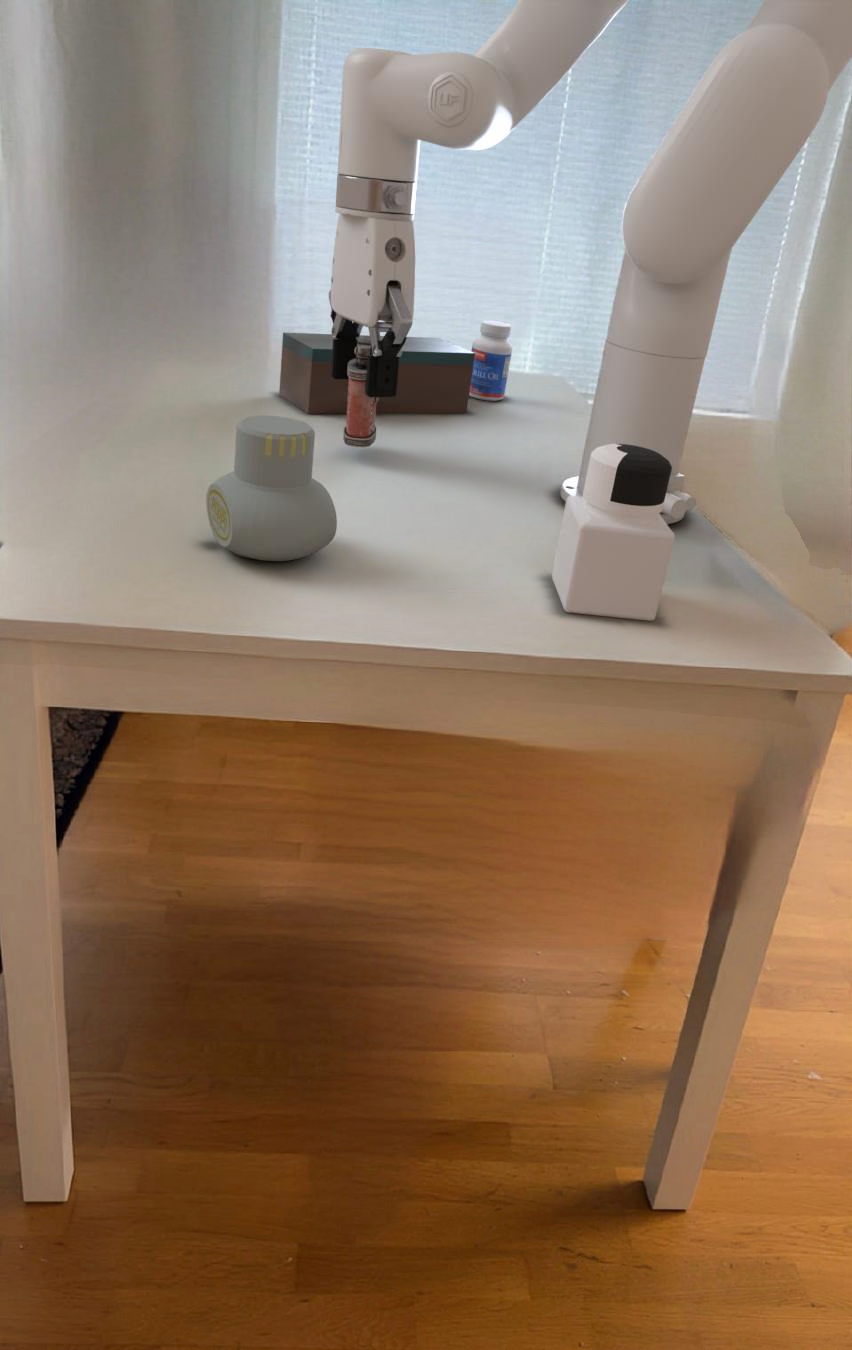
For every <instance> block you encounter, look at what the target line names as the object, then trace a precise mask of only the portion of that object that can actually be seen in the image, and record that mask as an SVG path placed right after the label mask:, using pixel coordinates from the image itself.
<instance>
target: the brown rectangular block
mask: <svg viewBox="0 0 852 1350" xmlns="http://www.w3.org/2000/svg"><path fill="white" fill-rule="evenodd" d="M363 336H369V334H368V335H365V334H363V335H362V334H360V336H359V338H358V339H362V338H363ZM384 336H385V335H380V337H381V340H382V339H383V337H384ZM406 337H407V339H406V342H405V344H404V345H403V347H402V350H403V351H402V355H401V357H399V368H398V380H397V392H396V395H395V396H394V397H379V399H378V401H377V402H376V414H467V413H468V405H469V399H470V396H469V393H470V386H471V379H472V372H473V365H474V358H475V353H473V352H471V351H472V350H468V349H466V348H464V347H461V346H459V345H457V344H455V343H452V342H450V341H448V340H445V339H443V338H441V337H423V336H406ZM333 339H337V338H333V337H332V333H331V334H330V333H307V332H282V341H281V342H282V343H281V344H282V345H281V359H280V373H279V374H280V376H279V390H278V395H279V396H281V397H282V398H283V399H285V400H286V401H288V402H290V403H292V405H294V406H295V407H297V408H298V409H300V410H302V411H303V412H304V413H306V414H308V415H317V414H318V415H330V414H331V415H333V414H334V415H340V414H341V415H342V414H343V415H344V414H345V415H347V401H348V384H349V379H334V378H332V377H331V366H332V348H333Z"/></svg>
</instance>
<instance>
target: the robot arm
mask: <svg viewBox="0 0 852 1350" xmlns="http://www.w3.org/2000/svg"><path fill="white" fill-rule="evenodd" d="M628 2H630V0H518V1H517V2H516V4H515V6H514V7H513V8H512V10H510V12H509V14H508V15H507V16H506V17H505V19H504V20H503V21H502V22H501V23H500V25H499V26H498V27H497V29H495V31H494V32H492V34H491V35H490V36H489V37H488V39H486V41H484V43H483V44H481V46H480V47H479V48H478V49H477V50H476V51H475V53H474V54H473V55H472V54H470V53H465V52H455V51H454V52H438V53H427V54H411V53H409V52H406V51H405V52H404V51H399V50H393V49H385V48H384V49H383V48H372V47H371V48H370V47H364V48H356V49H353V50H351V51H350V52H349V53H348V54H347V55H346V57H345V60H344V64H343V69H342V80H341V81H342V82H341V83H342V84H341V100H340V101H341V102H340V117H339V118H340V119H339V121H340V122H339V140H338V155H337V156H338V158H337V159H338V160H337V174H336V190H335V191H336V192H335V193H336V194H335V196H336V197H335V213H337V214H338V219H337V223H336V224H337V225H336V231H335V237H334V246H333V255H332V263H331V264H332V266H331V280H330V290H329V292H328V301H329V306H330V309H331V311H330V318H331V321H332V327H331V334H332V337H333V338H337V339H333V348H332V366H331V377H332V378H334V379H349V376H348V374H347V368H348V362H349V361H350V360H352V359H354V358H356V355H355V348H356V347H357V340H358V338H359V336H360V335H361V334H362V330H363V328H364V327H366V328H368V333H369V334H368V335H369V336H370V341H371V347H372V353H373V355H368V365H367V379H366V395H367V396H369V397H394V396H395V395H396V392H397V380H398V368H399V357H401V355H402V351H403V350H402V347H403V345H404V344H405V342H406V339H407V337H408V334H409V333H410V330H411V328H412V326H413V321H414V315H415V314H414V313H415V301H416V300H415V297H416V272H417V269H416V268H417V253H416V252H417V249H416V230H415V222H414V218H415V205H416V196H417V195H416V193H417V182H418V173H419V172H418V171H419V159H420V150H421V149H420V147H421V146H420V145H421V142H425V143H429V144H432V145H436V146H440V147H442V148H443V147H444V148H448V149H452V150H463V151H465V150H468V151H482V150H487V149H489V148H492V147H493V146H495V145H497V144H498V143H500V142H501V141H502V140H504V139H505V138H506V137H508V135H509V134H510V133H512V132H513V131H514V130H515V129H516V128H517V127H518V126H519V125H520V124H521V123H522V122H523V121H524V120H525V118H526V117H528V116H529V114H531V112H532V111H534V109H535V108H536V107H538V105H539V104H540V103H541V102H542V101H543V100H544V99H545V98H546V97H547V96H548V95H549V94H550V93H551V92H552V90H553V89H555V87H556V86H557V85H558V84H559V83H560V81H561V80H563V78H564V77H565V76H566V75H567V73H568V72H570V70H571V69H572V68H573V66H574V65H575V64H576V63H577V62H578V61H579V59H580V58H581V57H582V56H583V55H584V53H585V52H586V51H587V50H588V49H589V48H590V46H591V45H593V43H595V42H596V40H597V39H598V38H599V37H600V36H601V35H602V34H603V33H604V32H605V29H607V27H608V26H609V25H610V23H611V22H612V20H614V18H615V17H616V16H617V15H618V14H619V13H620V12H621V10H622V9H623V8H624V7H625V6H626V5H627V3H628ZM851 59H852V0H765V1H764V2H763V4H762V5H761V7H760V9H758V11H757V13H756V15H755V16H754V17H753V19H752V21H751V23H749V25H748V26H747V28H746V30H744V31H742V32H741V33H739V34H737V35H736V36H734V37H733V38H732V39H730V40H729V41H728V42H727V43H726V44H725V45H724V46H723V47H722V48H721V50H720V51H719V52H718V53H717V54H716V56H715V57H714V59H713V60H712V62H711V63H710V64H709V66H708V67H707V69H706V71H704V73H703V75H702V76H701V78H700V80H699V81H698V83H697V84H696V86H695V88H694V89H693V91H692V93H691V94H690V96H689V97H688V100H687V101H686V103H685V104H684V105H683V107H682V109H681V110H680V111H679V114H678V115H677V116H676V119H675V120H674V121H673V122H672V125H671V126H670V128H669V129H668V130H667V133H666V135H665V136H664V138H663V139H662V141H661V143H660V144H659V146H658V147H657V149H656V151H655V152H654V154H653V155H652V157H651V159H650V160H649V161H648V163H647V165H646V167H645V168H644V170H643V171H642V173H641V175H640V176H639V178H638V179H637V181H636V183H635V184H634V185H633V188H632V189H631V191H630V192H629V194H628V197H627V199H626V202H625V205H624V208H623V212H622V219H621V235H622V242H623V246H624V250H623V255H622V260H621V264H620V269H619V272H618V273H619V274H618V278H617V279H618V280H617V282H616V286H615V287H616V288H615V292H614V297H613V302H612V307H611V312H610V317H609V321H608V325H607V326H608V327H607V333H606V338H605V340H604V345H603V351H602V356H601V360H600V366H599V370H598V376H597V380H596V381H597V382H596V387H595V392H594V396H593V401H592V407H591V413H590V416H589V422H588V428H587V431H586V432H587V433H586V438H585V443H584V448H583V453H582V457H581V458H582V459H581V464H580V469H579V473H578V475H577V476H573V477H569V478H567V479H566V480H564V481H563V482H562V483H561V486H560V491H559V495H560V497H561V499H562V500H563V501H564V503H566V500H567V498H568V497H569V496H580V497H583V491H584V486H585V481H586V476H587V471H588V466H589V461H590V456H591V453H592V452H593V451H594V450H595V449H596V448H598V447H601V446H604V445H608V444H627V445H634V446H639V447H643V448H647V449H650V450H653V451H655V452H657V453H659V454H661V455H662V456H663V457H665V458H666V459H667V460H668V461H669V462H670V464H671V466H672V470H671V475H670V479H669V483H668V487H667V492H666V496H665V500H664V504H663V509H662V511H661V512H660V513H659V514H660V515H661V517H662V518H663V519H664V521H665V522H666V524H667V525H670V524H675V523H678V522H679V521H681V520H682V519H684V517H685V514H686V511H688V512H690V511H692V510H693V509H694V508H695V506H696V505H697V498H696V497H694V496H692V495H691V494H689V493H686V492H682V490H683V485H684V480H685V477H686V476H685V475H683V474H681V473H680V472H679V470H680V466H681V461H682V457H683V452H684V449H685V445H686V440H687V436H688V433H689V429H690V424H691V420H692V415H693V411H694V407H695V403H696V399H697V394H698V391H699V390H698V389H699V386H700V381H701V378H702V373H703V369H704V364H705V360H706V357H707V354H708V350H709V346H710V342H711V340H712V339H711V338H712V335H713V329H714V325H715V321H716V316H717V312H718V308H719V304H720V300H721V296H722V292H723V287H724V284H725V283H724V282H725V278H726V275H727V270H728V266H729V262H730V258H731V254H732V252H733V251H732V250H733V247H734V246H735V244H736V243H737V242H738V240H739V239H740V237H741V236H742V234H743V233H744V232H745V230H746V229H747V228H748V226H749V225H750V223H752V221H753V219H754V217H755V216H756V214H757V213H759V211H760V209H761V207H763V205H764V203H765V202H766V200H767V199H768V197H769V196H770V195H771V193H772V192H773V190H774V188H775V187H776V186H777V184H778V183H779V181H780V180H781V179H782V177H783V175H784V174H785V173H786V171H787V170H788V169H789V167H790V165H792V163H793V161H794V160H795V159H796V157H797V155H798V154H799V153H800V151H801V149H802V148H803V147H804V145H805V144H806V142H807V141H808V139H809V137H810V136H811V135H812V133H813V131H814V130H815V128H816V126H817V125H818V123H819V121H820V120H821V117H822V114H823V112H824V110H825V107H826V104H827V100H828V95H829V92H830V90H831V89H832V87H833V86H834V84H835V83H836V81H837V80H838V78H839V76H840V75H841V74H842V72H843V71H844V69H845V67H846V66H847V64H848V63H849V61H850V60H851ZM381 333H385V334H384V335H383V336H384V337H383V339H382V340H381V337H380V336H381Z"/></svg>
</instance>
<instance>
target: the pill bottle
mask: <svg viewBox="0 0 852 1350" xmlns="http://www.w3.org/2000/svg"><path fill="white" fill-rule="evenodd" d="M511 329H512V325H511V324H509V323H507V322H506V323H505V322H502V321H497V320H488V319H487V320H486V319H485V320H482V321H481V323H480V329H479V333H481V334H480V336H477V337H475V338H474V340H473V341H472V345H471V350H470V351H471V352H473V353H475V358H474V365H473V372H472V379H471V386H470V393H469V397H471V398H473V399H478V400H482V401H489V402H494V401H495V402H496V401H501V400H503V399H504V397H505V393H506V388H507V382H508V377H509V371H510V366H511V359H512V353H513V345H512V343H511V342H510V341H508V338H509V337H510V335H511Z"/></svg>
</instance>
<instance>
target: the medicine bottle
mask: <svg viewBox="0 0 852 1350" xmlns="http://www.w3.org/2000/svg"><path fill="white" fill-rule="evenodd" d="M671 470H672V466H671V464H670V462H669V461H668V460H667V459H666V458H665V457H663V456H662V455H661V454H659V453H657V452H655V451H653V450H650V449H647V448H643V447H639V446H634V445H627V444H608V445H604V446H601V447H598V448H596V449H595V450H594V451H593V452H592V453H591V456H590V461H589V466H588V471H587V476H586V481H585V486H584V491H583V497H580V496H569V497H568V498H567V500H566V502H565V505H564V510H563V516H562V521H561V527H560V530H559V531H560V532H559V537H558V541H557V546H556V552H555V556H554V557H555V558H554V562H553V567H552V571H551V572H552V573H551V579H552V581H553V584H554V587H555V589H556V592H557V595H558V598H559V600H560V603H561V605H562V609H563V610H564V611H565V612H566V613H571V614H580V615H588V616H589V615H590V616H600V617H601V616H602V617H610V618H619V619H629V620H637V621H638V620H640V621H649V622H652V621H654V620H655V619H656V617H657V613H658V607H659V605H660V599H661V595H662V592H663V588H664V583H665V581H666V580H665V579H666V575H667V572H668V567H669V563H670V558H671V555H672V551H673V546H674V543H675V537H676V536H675V533H674V532H673V530H672V529H671V527H670V526H669V524H666V522H665V521H664V519H663V518H662V517H661V515H660V514H659V513H660V512H661V511H662V509H663V504H664V500H665V496H666V492H667V487H668V483H669V479H670V475H671Z"/></svg>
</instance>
